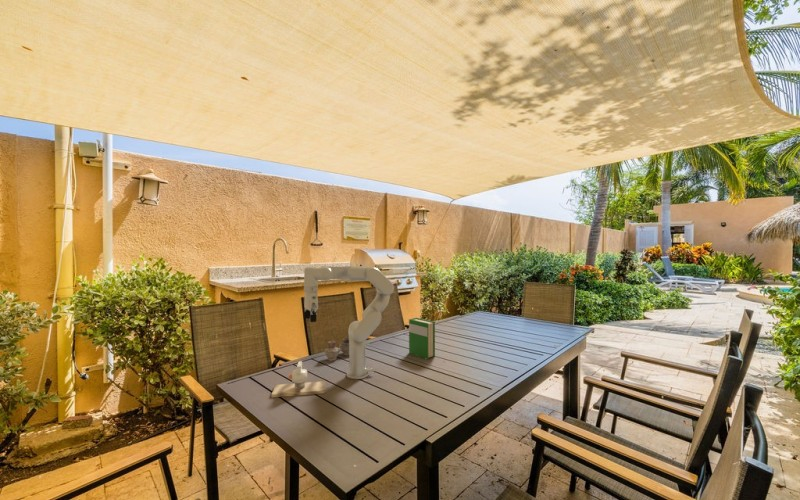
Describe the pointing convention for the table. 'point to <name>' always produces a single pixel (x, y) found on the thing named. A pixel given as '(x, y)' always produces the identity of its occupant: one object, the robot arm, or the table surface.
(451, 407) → the table surface
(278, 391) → the post base
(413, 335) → the hardback book
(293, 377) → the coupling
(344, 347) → the pottery
